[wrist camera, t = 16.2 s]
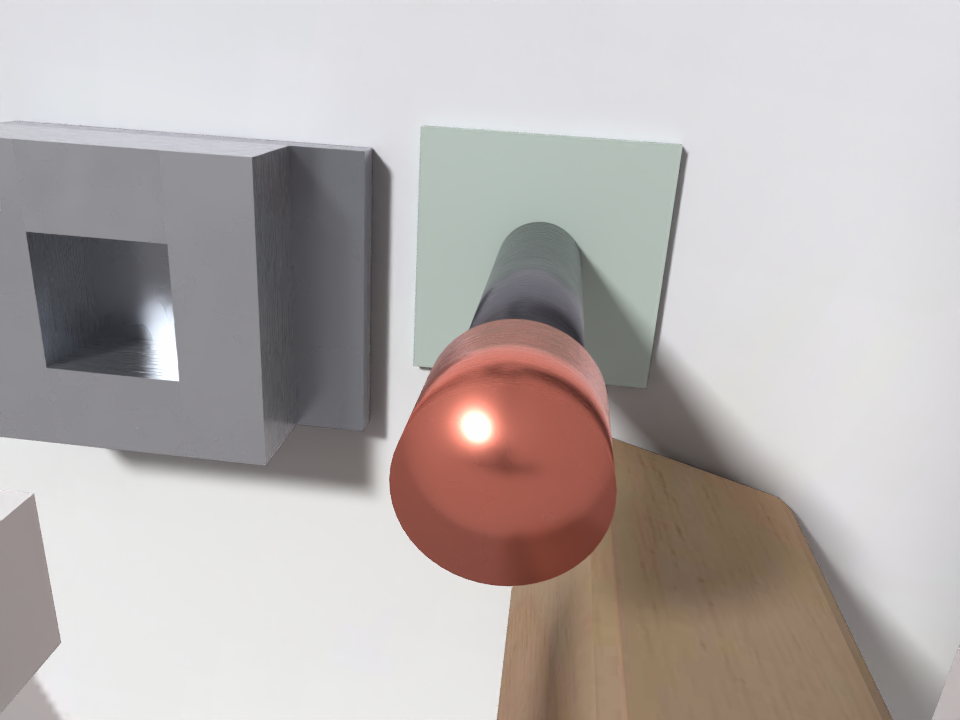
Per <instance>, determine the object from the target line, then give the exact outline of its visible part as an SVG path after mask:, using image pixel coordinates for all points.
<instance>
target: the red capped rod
mask: <svg viewBox="0 0 960 720" xmlns="http://www.w3.org/2000/svg"><path fill="white" fill-rule="evenodd" d="M389 481H390V494H391V499H392V504H393V507H394V510H395V513H396V516H397V518H398V520H399V522H400V524H401V526H402V528H403V530H404V531H405V532H406V534H407V535H408V537H409V538H410V540H411V541H412V542H413V543H414V544H415V545H416V547H417V548H418V549H419V550H420V551H421V552H422V553H424V554H425V555H426V556H427V557H428V558H429V559H430V560H432V561H433V562H435V563H436V564H438V565H439V566H440V567H442V568H444V569H446V570H448V571H449V572H451V573H453V574H456V575H458V576H460V577H463V578H465V579H468V580H472V581H475V582H479V583H484V584H490V585H498V586H522V585H529V584H535V583H539V582H542V581H546V580H550V579H552V578H554V577H557V576H559V575H562V574H564V573H565V572H567V571H569V570H571V569H572V568H574V567H575V566H577V565H578V564H579V563H581V562H582V561H584V560H585V559H586V558H587V557H588V556H589V555H590V554H591V553H592V552H593V551H594V550H595V549H596V547H597V546H598V545H599V543H600V542H601V541H602V539H603V537H604V536H605V534H606V532H607V530H608V529H609V526H610V523H611V521H612V518H613V515H614V510H615V506H616V495H617V488H616V476H615V466H614V456H613V446H612V436H611V426H610V416H609V406H608V396H607V390H606V386H605V382H604V379H603V377H602V374H601V372H600V370H599V368H598V366H597V364H596V363H595V361H594V360H593V358H592V357H591V356H590V354H589V353H588V352H587V351H586V350H585V342H584V316H583V290H582V264H581V255H580V251H579V248H578V246H577V244H576V242H575V240H574V239H573V238H572V236H571V235H570V234H569V233H568V232H566V231H565V230H564V229H562V228H561V227H559V226H557V225H554V224H551V223H547V222H531V223H527V224H524V225H522V226H520V227H518V228H516V229H515V230H513V231H512V232H511V233H510V234H509V235H508V236H507V237H506V238H505V240H504V241H503V243H502V245H501V247H500V250H499V252H498V255H497V257H496V260H495V263H494V265H493V268H492V270H491V273H490V276H489V278H488V281H487V284H486V286H485V289H484V291H483V294H482V297H481V299H480V302H479V305H478V307H477V310H476V312H475V315H474V318H473V320H472V323H471V325H470V328H469V330H468V331H466V332H464V333H463V334H461V335H460V336H458V337H457V338H455V339H454V340H453V341H452V342H451V343H450V344H449V345H448V346H447V347H446V348H445V349H444V350H443V352H442V353H441V354H440V355H439V357H438V358H437V360H436V362H435V363H434V365H433V367H432V369H431V372H430V374H429V376H428V378H427V380H426V383H425V385H424V387H423V389H422V391H421V394H420V396H419V398H418V400H417V402H416V405H415V407H414V409H413V411H412V413H411V416H410V418H409V420H408V422H407V425H406V427H405V429H404V431H403V433H402V436H401V438H400V440H399V442H398V445H397V447H396V449H395V452H394V455H393V459H392V463H391V467H390V478H389Z"/></svg>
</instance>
